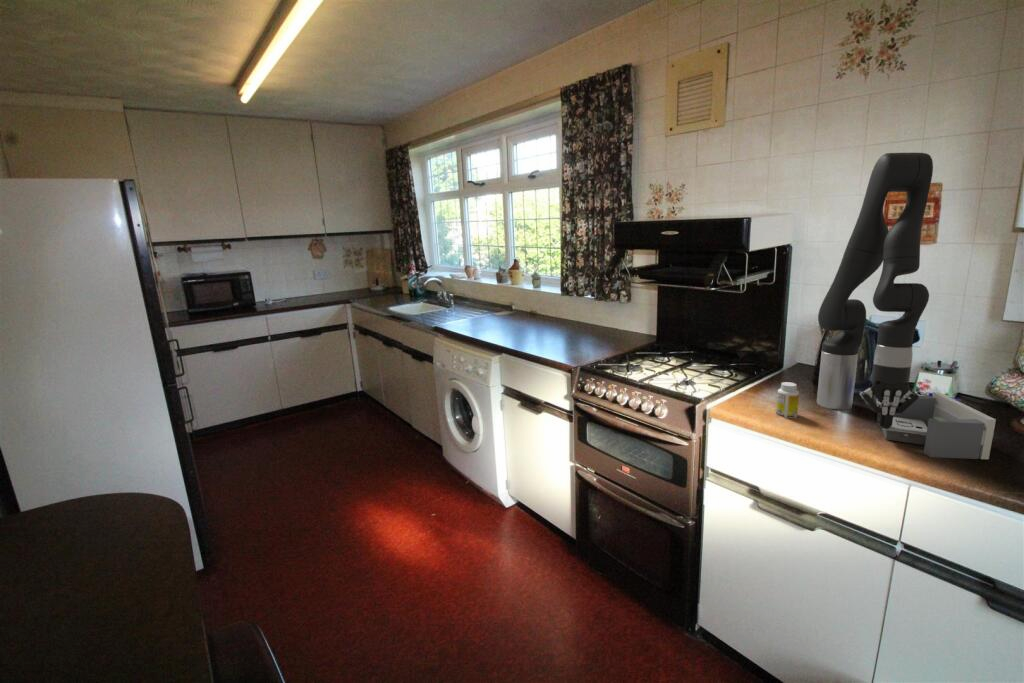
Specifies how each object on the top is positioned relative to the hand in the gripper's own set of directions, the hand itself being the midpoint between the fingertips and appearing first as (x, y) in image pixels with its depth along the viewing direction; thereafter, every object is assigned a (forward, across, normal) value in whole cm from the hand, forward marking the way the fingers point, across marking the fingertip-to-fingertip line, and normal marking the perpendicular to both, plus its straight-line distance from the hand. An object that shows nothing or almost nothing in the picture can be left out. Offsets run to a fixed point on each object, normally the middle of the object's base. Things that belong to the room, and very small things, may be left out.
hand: (883, 427), depth 123 cm
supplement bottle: (+4, +18, -16) cm, 24 cm away
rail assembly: (+4, -12, -1) cm, 12 cm away
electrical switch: (+4, -10, -2) cm, 11 cm away
